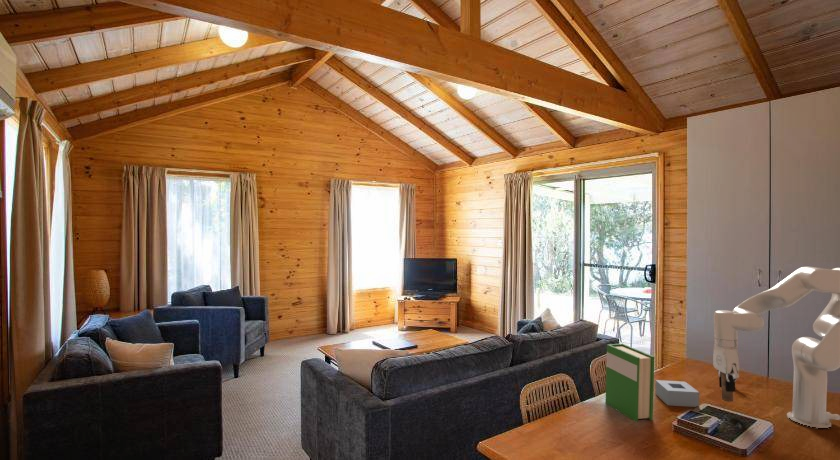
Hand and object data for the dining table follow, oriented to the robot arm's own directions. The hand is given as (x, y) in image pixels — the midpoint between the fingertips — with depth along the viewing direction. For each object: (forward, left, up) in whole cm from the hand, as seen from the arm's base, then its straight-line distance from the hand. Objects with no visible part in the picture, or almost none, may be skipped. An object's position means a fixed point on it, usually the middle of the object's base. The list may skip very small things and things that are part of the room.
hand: (727, 388), depth 174 cm
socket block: (+14, -10, -9) cm, 20 cm away
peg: (0, 0, -4) cm, 4 cm away
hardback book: (+38, +4, -10) cm, 40 cm away
